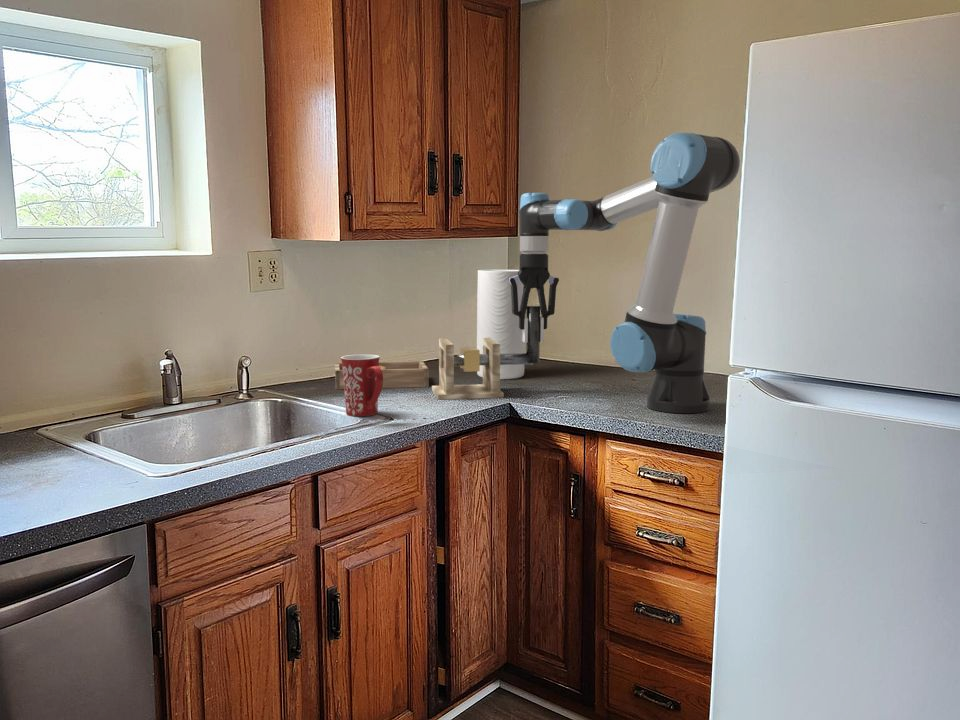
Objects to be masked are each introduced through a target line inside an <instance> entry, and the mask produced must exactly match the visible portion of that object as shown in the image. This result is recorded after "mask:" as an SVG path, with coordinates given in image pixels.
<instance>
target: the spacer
mask: <svg viewBox="0 0 960 720" xmlns="http://www.w3.org/2000/svg"><path fill="white" fill-rule="evenodd" d="M459 348H460V349H459V350H460V352H459V355H463V356H464V366H459V367H460V369H463V372H466V373H467V372H469V373H470V372H471V373H472V372H477V371H480V350H479V349H477V346H462V347H461V346H460V347H459Z"/></svg>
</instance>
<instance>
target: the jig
mask: <svg viewBox="0 0 960 720" xmlns="http://www.w3.org/2000/svg"><path fill="white" fill-rule="evenodd" d="M454 348H455V345H454V343H452V342H451V341H450V340H448V338H438V381H439V382H438V385H431V391H432V392H433V395H435V397H436V399H437V400H467V399H470V400H473V399H501V398H502V399H503V398H504V397H505V396H504V395H505V394H504V392H503V391H502V390H501V380H500V343H498V342H496V341H495V340H493V339H491V338H483V354H489V365H483V378H482V384H478V383H477V384H455V379H454V378H455V366H454V355H455V349H454ZM443 355H444V366H443Z"/></svg>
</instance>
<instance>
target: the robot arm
mask: <svg viewBox="0 0 960 720" xmlns="http://www.w3.org/2000/svg"><path fill="white" fill-rule="evenodd" d="M740 164H741V160H740V155H739V152H738V151H737V148H736V147H735V146H734V144H733V143H731V142H730V141H729V140H727V139H725V138H723V137H720V136H719V137H718V136H711V135H704V134H698V133H694V132H675V133H672V134H669V135H668V136H666V137H664V139H662V140H661V141H660V142H659V143H658V145H657V146H656V147H655V149H654V151H653V153H652V155H651V159H650V165H649V166H650V173H651V174H652V176H650V177H647V178H646V179H644V180H640V181H638V182H635V183H634V184H631V185H629V186H627V187H624V188H621V189H619V190H617V191H614V192H612V193H609V194H607V195H605V196H603V197H601V198H598V199H595V200H581V199H577V198H566V199H564V198H563V199H553V200H550V195H549V194H548V193H545V192H526V193H523V194H521V196H520V203H519V208H518V209H519V252H521V253H520V254H519V269H518V270H519V272H518V275H517V276H515V277H512V278H509V279H508V281H509V283H510V286H511V299H512V313H513V314H514V315H517V316H518V317H519V328H520V329H521V330H523V342H525V344H526V342H528V318H527V317H526V309H527V306H528V303H529V297H530V293H531V289H535V290H536V292H537V297H538V303H539V306H540V343H543V342H544V332H545V331H544V330H547V329H548V318H549V317H550V316H553V315H554V314H555V308H556V296H557V295H556V294H557V286H558V284H559V282H560V279H559V278H558V277H555V276H553V275H550V274H551V273H550V271H549V255H548V253H547V252H548V251H549V233H550V232H549V231H551V230H555V231H557V230H558V231H563V230H564V231H598V232H603V231H609V230H612V229H614V228H615V227H616V225H618V223H621V222H623V221H626V220H628V219H631V218H635V217H636V216H637V217H638V216H639V215H642V214H645V213H648V212H650V211H653V210H656V209H657V211H656V214H655V219H654V223H653V226H652V227H653V228H652V232H651V237H650V241H649V245H648V250H647V253H646V258H645V263H644V266H643V271H642V275H641V280H640V284H639V288H638V292H637V295H636V300H635V303H634V304H633V305H631V306H629V307H628V308H627V309H626V314H625V318H624V322H621V323H620V324H618V325H617V326H615V327H614V329H613V330H612V332H611V336H610V345H609V346H610V350H611V354H612V356H613V357H614V360H615V362H616V363H617V364H618V366H620V367H621V368H622V369H624V370H625V371H628V372H630V373H648V372H651V371H654V378H653V380H652V383H651V386H650V388H649V391H648V394H647V396H646V408H648V409H649V410H654V411H656V412H662V413H672V414H697V413H698V414H700V413H705V412H708V411H709V410H710V409H711V400H710V395H709V392H708V389H707V385H706V382H705V378H704V377H705V376H704V375H705V354H706V351H705V350H706V335H707V331H706V320H705V319H704V317H702V316H699V315H691V314H682V313H681V314H680V313H675V312H674V308H675V304H676V300H677V297H678V296H677V295H678V293H679V289H680V283H681V280H682V276H683V271H684V267H685V263H686V260H687V256H688V252H689V249H690V243H691V240H692V237H693V232H694V228H695V224H696V219H697V217H698V211H699V209H700V207H701V208H702V206H703V205H705V204H707V203H708V202H709V197H710V194H711V193H714V192H717V191H719V190H722V189H724V188H726V187H728V186H730V185H731V184H732V183H733V182H734V180H735V179H736V177H737V175H738V173H739V170H740V167H741V166H740ZM519 279H520V281H521V282H522V284H523V285H524V287H523V294H522V300H521V305H520V310H519V311H518V290H517V284H518V280H519ZM547 281H548V284H549V288H548V289H549V290H548V303H547V302H546V295H545V287H544V286H545V284H546V283H547ZM547 304H548V305H547Z"/></svg>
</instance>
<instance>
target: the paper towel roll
mask: <svg viewBox="0 0 960 720" xmlns="http://www.w3.org/2000/svg"><path fill="white" fill-rule="evenodd" d="M518 272H519V269H479V270H477V292H476V293H477V296H476V297H477V299H476V301H477V303H476V304H477V307H476V311H477V312H476V348H477V349H479V350H480V354H483V338H491V339H493V340H495V341H496V342H498V343H500V354H511V353H526V343H525V342H523V330H521V329H520V328H519V317H518V316H517V315H514V314H513V313H512V299H511V286H510V283H509V281H508V279H509V278H512V277H515V276H517V275H518ZM523 287H524V285H523V284H522V282H521V281H520V279H519V280H518V284H517V290H518V311H519V310H520V305H521V300H522V294H523ZM525 365H526V364H524V365H500V381H503V380H505V379H506V380H515V379H520V378H522V377H523V376H524V375H525ZM476 375H477V376H478V377H480V378H482V379H483V365H480V371H476Z"/></svg>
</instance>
